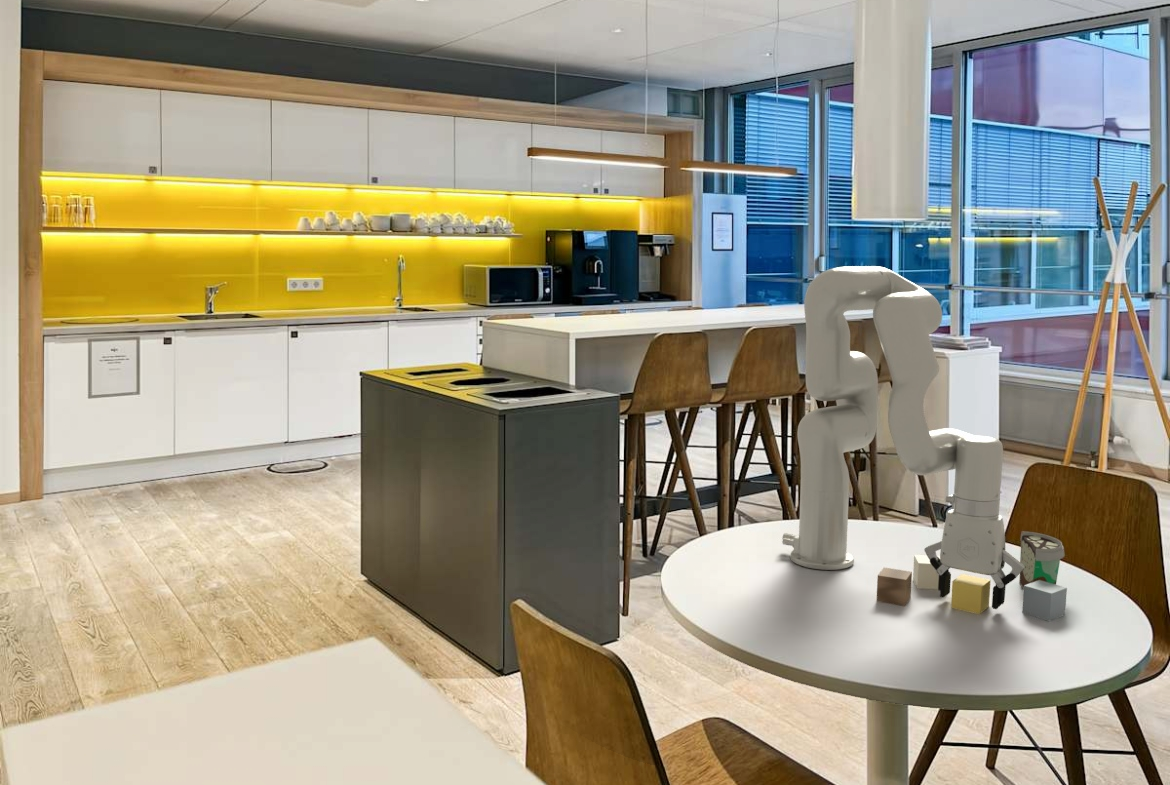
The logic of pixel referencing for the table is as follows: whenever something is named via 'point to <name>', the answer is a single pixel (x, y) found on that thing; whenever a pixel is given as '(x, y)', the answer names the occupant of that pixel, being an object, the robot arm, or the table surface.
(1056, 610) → the slate cube
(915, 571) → the cream cube
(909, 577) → the walnut cube
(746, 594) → the table surface
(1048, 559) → the food container
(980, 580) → the mustard cube
